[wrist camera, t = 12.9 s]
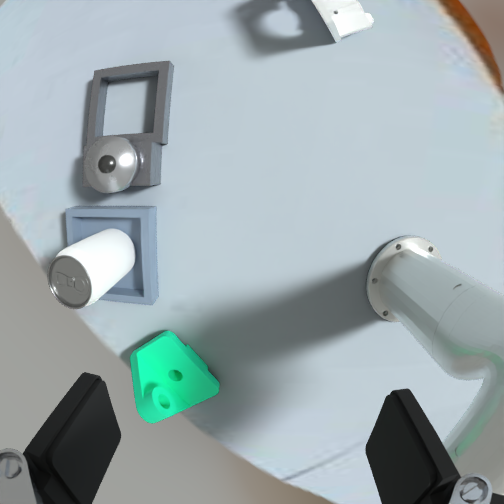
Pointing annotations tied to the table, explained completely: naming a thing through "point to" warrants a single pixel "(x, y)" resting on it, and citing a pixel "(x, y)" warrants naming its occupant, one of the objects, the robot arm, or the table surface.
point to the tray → (141, 234)
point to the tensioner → (126, 145)
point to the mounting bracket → (343, 17)
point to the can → (90, 268)
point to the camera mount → (169, 378)
